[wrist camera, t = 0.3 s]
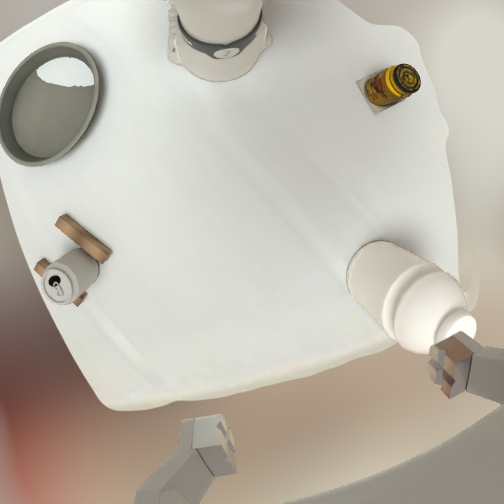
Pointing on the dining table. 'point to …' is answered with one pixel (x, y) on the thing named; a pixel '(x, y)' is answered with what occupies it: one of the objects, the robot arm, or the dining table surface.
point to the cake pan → (45, 108)
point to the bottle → (408, 296)
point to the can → (69, 277)
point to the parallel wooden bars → (83, 241)
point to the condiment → (389, 86)
